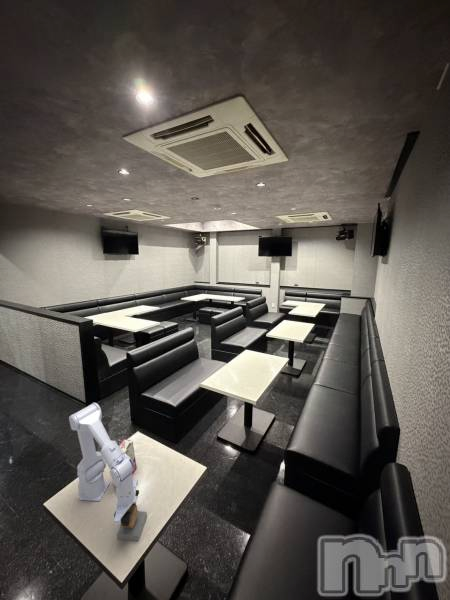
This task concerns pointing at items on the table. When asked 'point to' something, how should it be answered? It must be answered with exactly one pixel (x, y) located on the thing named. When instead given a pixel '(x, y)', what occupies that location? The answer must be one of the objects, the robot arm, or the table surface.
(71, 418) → the robot arm
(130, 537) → the slate coaster
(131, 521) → the walnut block
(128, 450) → the candy bar box
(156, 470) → the table surface
